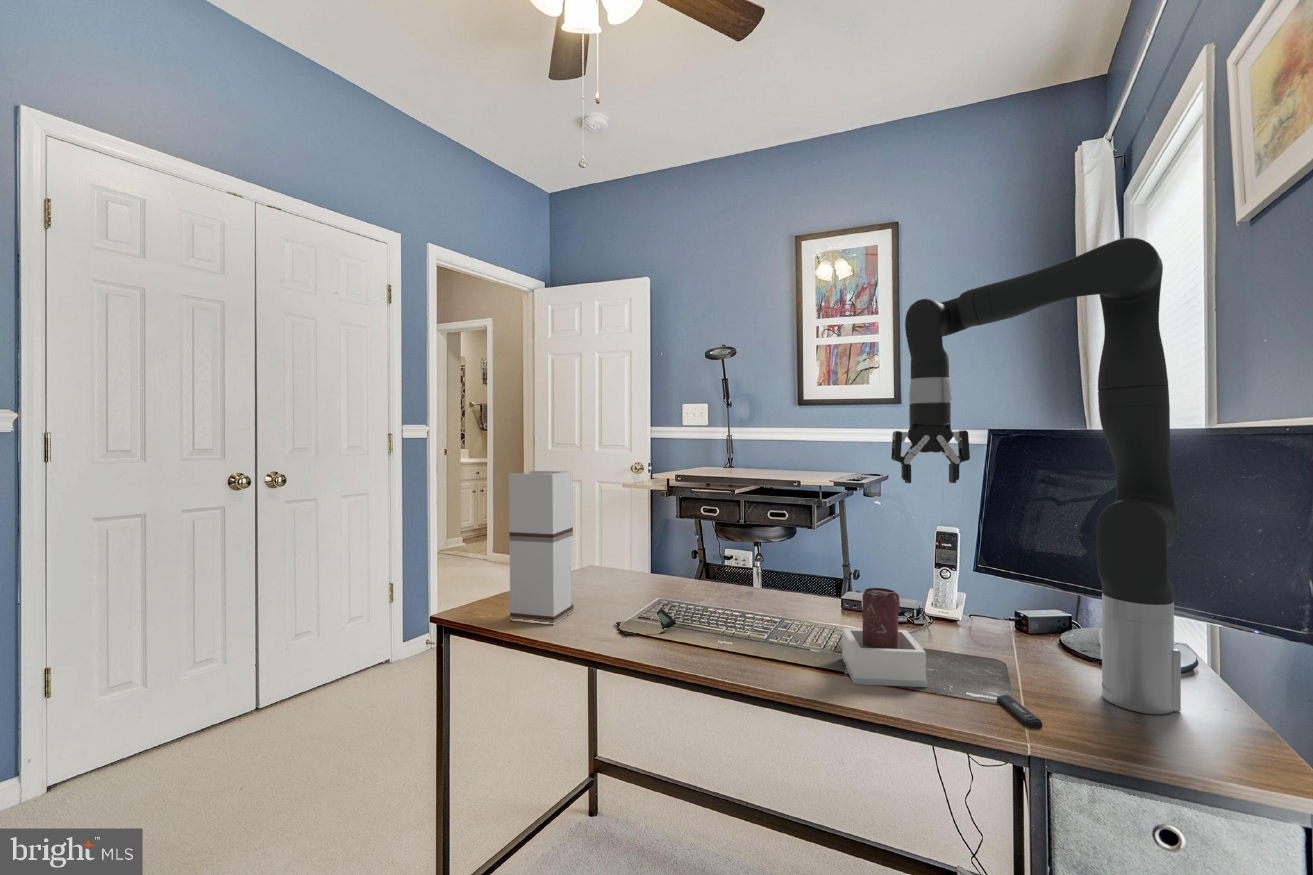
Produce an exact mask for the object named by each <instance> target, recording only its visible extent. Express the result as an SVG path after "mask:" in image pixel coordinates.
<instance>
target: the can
mask: <svg viewBox="0 0 1313 875" xmlns="http://www.w3.org/2000/svg"><path fill="white" fill-rule="evenodd" d="M862 598H863V608H862V629H863V648H882V649H898V630H899V614H900V606H901V604H900V595H899V593H897V591H894V590H892V589H888V588H883V587H882V588H880V587H871V588H869V587H868V588H866V589H864V592H863V594H862Z"/></svg>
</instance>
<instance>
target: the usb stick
mask: <svg viewBox="0 0 1313 875" xmlns="http://www.w3.org/2000/svg"><path fill="white" fill-rule="evenodd" d="M996 701H997V703H998V704H999V705H1001V706H1002V707H1003V708H1005V709H1006V710H1007V711H1008V712H1009V713H1010V714H1011V715H1012V716H1014V717H1015V718H1016V719H1017V720H1018V721H1020V722H1021V723H1022V724H1023V725H1024V726H1025V727H1027V728H1030V729H1042V728H1043V721H1042V720H1041V719H1040V718H1038V717H1037V715H1035V714H1034V713H1032V712H1031V710H1029V709H1027V708H1026V707H1025V706H1024V705H1022V704H1021V703H1020V702H1019V701H1017V700H1016V699H1015V698H1014V697H1012V696H1011V695H1009V694H1003V695H1002V694H1001V695H999V696H997V697H996Z"/></svg>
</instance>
